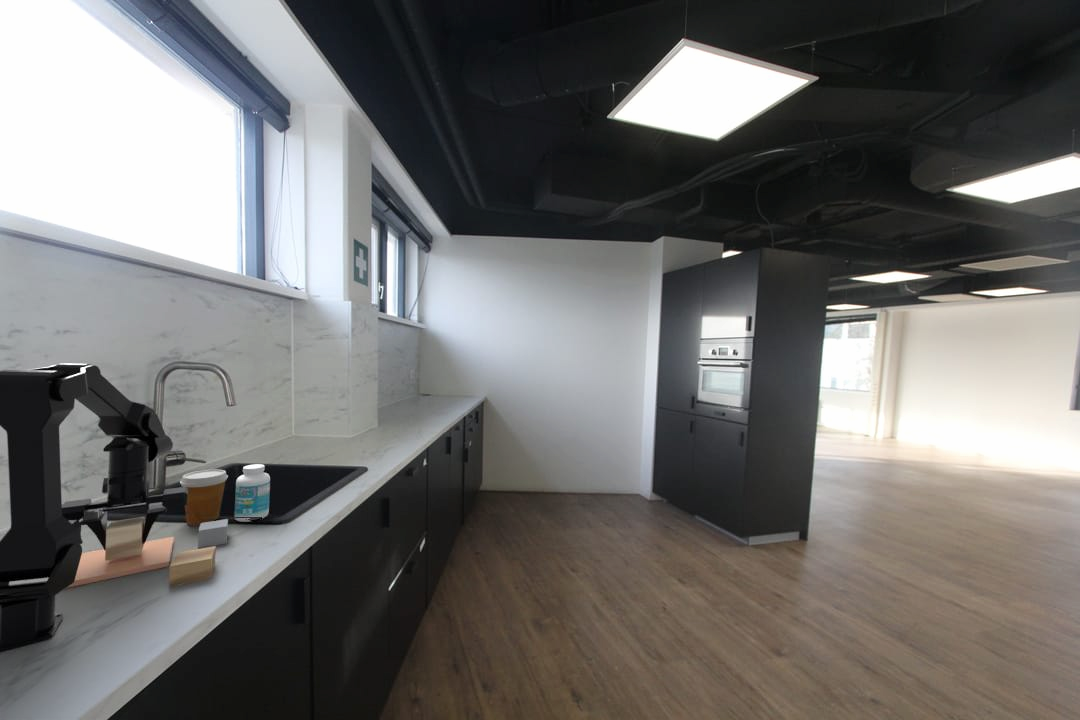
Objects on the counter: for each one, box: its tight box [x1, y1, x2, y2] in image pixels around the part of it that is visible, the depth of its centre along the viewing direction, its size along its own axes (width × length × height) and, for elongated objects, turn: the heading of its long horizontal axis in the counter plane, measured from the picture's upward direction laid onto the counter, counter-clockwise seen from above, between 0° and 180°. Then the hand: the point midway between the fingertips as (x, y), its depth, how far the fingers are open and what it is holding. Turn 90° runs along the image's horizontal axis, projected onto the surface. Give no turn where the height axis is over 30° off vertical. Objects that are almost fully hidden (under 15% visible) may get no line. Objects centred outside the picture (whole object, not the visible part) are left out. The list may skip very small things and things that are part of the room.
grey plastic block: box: [197, 518, 229, 549], centre depth 94 cm, size 5×5×4 cm
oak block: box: [168, 545, 217, 588], centre depth 79 cm, size 6×6×4 cm
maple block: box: [105, 515, 146, 561], centre depth 83 cm, size 5×5×6 cm
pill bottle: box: [234, 463, 271, 523], centre depth 108 cm, size 8×7×14 cm
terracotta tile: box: [66, 536, 175, 589], centre depth 83 cm, size 14×14×1 cm
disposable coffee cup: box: [179, 469, 229, 526], centre depth 105 cm, size 10×10×12 cm
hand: (125, 546), depth 83 cm, fingers closed on maple block, 5 cm apart
